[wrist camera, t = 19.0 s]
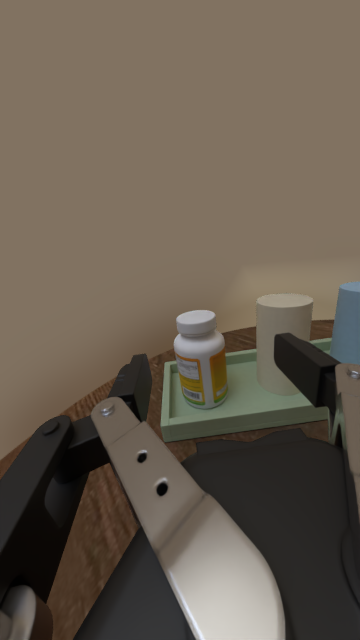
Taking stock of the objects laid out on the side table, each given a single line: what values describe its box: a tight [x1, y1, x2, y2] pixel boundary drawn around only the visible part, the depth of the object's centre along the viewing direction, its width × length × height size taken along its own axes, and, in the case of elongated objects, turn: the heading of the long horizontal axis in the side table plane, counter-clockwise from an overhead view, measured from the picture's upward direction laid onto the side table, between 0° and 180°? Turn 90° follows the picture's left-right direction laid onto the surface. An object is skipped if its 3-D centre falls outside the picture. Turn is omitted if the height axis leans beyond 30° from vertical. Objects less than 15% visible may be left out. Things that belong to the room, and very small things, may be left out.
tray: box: [161, 338, 332, 442], centre depth 22 cm, size 28×11×2 cm, turn 92°
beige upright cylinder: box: [256, 293, 313, 396], centre depth 20 cm, size 5×5×10 cm
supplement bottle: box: [174, 310, 228, 409], centre depth 20 cm, size 5×5×10 cm
